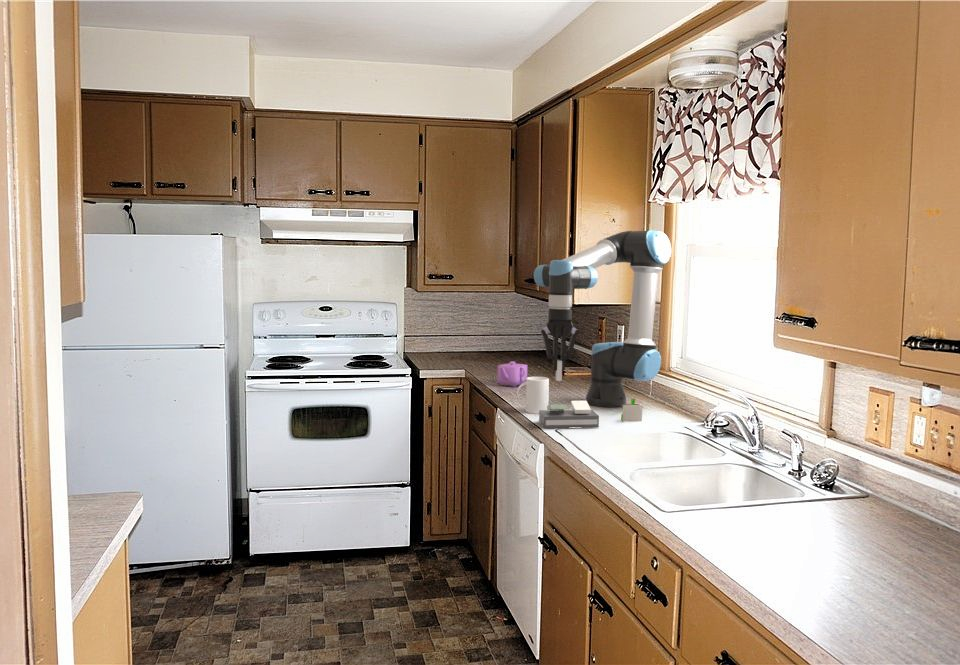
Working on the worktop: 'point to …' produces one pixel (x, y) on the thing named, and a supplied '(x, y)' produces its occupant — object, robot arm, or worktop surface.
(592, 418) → the switch panel
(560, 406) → the rocker green
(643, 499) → the worktop surface
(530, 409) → the mug
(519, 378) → the teapot
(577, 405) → the rocker cream
